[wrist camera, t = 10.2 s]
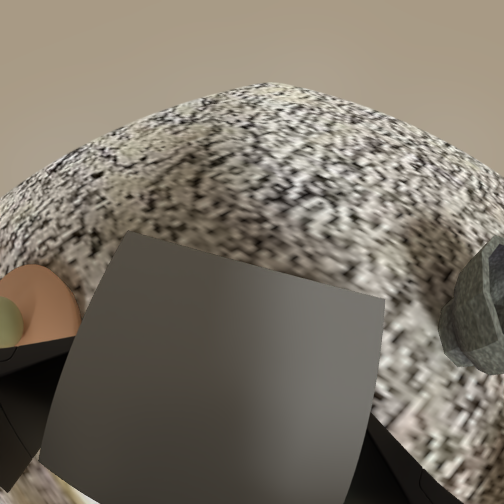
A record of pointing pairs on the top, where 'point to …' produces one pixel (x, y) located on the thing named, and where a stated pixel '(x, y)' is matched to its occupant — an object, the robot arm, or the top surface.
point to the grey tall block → (213, 383)
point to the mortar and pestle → (477, 312)
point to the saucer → (36, 307)
